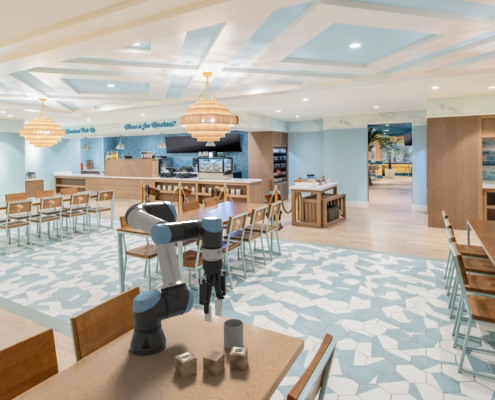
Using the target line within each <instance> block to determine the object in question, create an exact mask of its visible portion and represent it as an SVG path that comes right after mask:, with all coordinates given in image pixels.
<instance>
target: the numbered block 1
mask: <svg viewBox="0 0 495 400" xmlns="http://www.w3.org/2000/svg"><path fill="white" fill-rule="evenodd" d="M197 359H198V357H197V356H195V355H194V354H193V353H191V352H190V350H188V351H186V352H183V353H181V354H178V355H175V356H174V369H175V372H176V373H177V375H178V376H179V377H181V378H182V379H185V378H187V377H190V376H192V375H194V374H196V373H198V361H197Z"/></svg>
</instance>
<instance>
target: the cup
mask: <svg viewBox="0 0 495 400" xmlns="http://www.w3.org/2000/svg"><path fill="white" fill-rule="evenodd" d="M233 346H235V347H243V346H244V322H243V320H240V319H238V318H231V319H227V320H225V321H224V322H223V347H224V348H225V349H227V350H230V351H231V350H232V347H233Z"/></svg>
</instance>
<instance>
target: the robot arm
mask: <svg viewBox="0 0 495 400" xmlns="http://www.w3.org/2000/svg"><path fill="white" fill-rule="evenodd" d="M177 217H178V213H177V209H176V208H175V206H174V204H173V203H172V202H171V201H165V200H164V201H163V200H159V201H150V202H149V201H146V202H138V203H135V204H133V205H131V206H130V207H128V208H127V209H126V211H125V214H124V221H125V224H126V225H127V226H128V227H129V228H131V229H133V230H139V231H142V232H144V233H146V234H147V235H150V238H151V240H152V241H153V243H154V244H155V248H156V253H157V259H158V264H159V270H160V276H161V280H162V286H161V287H160V291H159V290H156V289H155V290H154V289H153V290H145V291H142V292H141V293H139V294H137V295H136V296H135V297H134V298H133V300H132V317H133V319H132V321H133V333H132V336H131V340H130V344H129V350H130V352H131V353H132V354H134V355H137V356H149V355H150V356H151V355H154V354H156V353H159V352H161V351H162V350H164V349H165V347H166V346H167V336H166V335H165V332H164V330H163V325H162V321H164V320H167V319H171V318H175V317H178V316H182V315H185V314H187V313H189V312H190V311H191V310H192V308H193V307H194V303H195V302H194V301H195V297H194V292H193V290H192V288H191V287H190V286H189V285H187V282H186V281H184V280H183V279H182V275H181V270H180V264H179V260H178V254H177V250H176V245H175V244H176V243H179V242H185V241H187V242H188V241H193V240H194V241H195V240H200V241H201V258H202V260H201V261H202V262H201V263H202V269H203V271H204V272H203V276H202V277H201V278H200V277H199V278H198V279H197V281H198V286H199V287H198V288H199V289H198V293H199V294H198V298H199V299H198V304H199V305H201V306H203V314H204V321H205V322H208V323H211V322H212V304H211V297H212V292H213V291H212V290H213V288H214V293H215V297H216V298H214V315H215V316H217V317H220V318H221V317H222V313H223V310H222V309H223V308H222V307H223V300H225V297H226V294H227V288H226V282H227V281H226V276H227V271H226V270H224V269H223V266H224V265H223V262H224V259H222V258H223V231H224V230H223V229H224V228H223V220H222V218H221V217H219V216H205V217H202V218H201V219H199V218H190V219H188V220H183V221H177V219H178V218H177Z"/></svg>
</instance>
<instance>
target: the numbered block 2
mask: <svg viewBox="0 0 495 400" xmlns="http://www.w3.org/2000/svg"><path fill="white" fill-rule="evenodd" d="M248 353H249V352H248V347H245V346H244V347H243V346H242V347H235V346H233V347H232V350H230V353H229V370H238V371H246V368H247V366H248V361H249V360H248V355H249V354H248Z"/></svg>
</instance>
